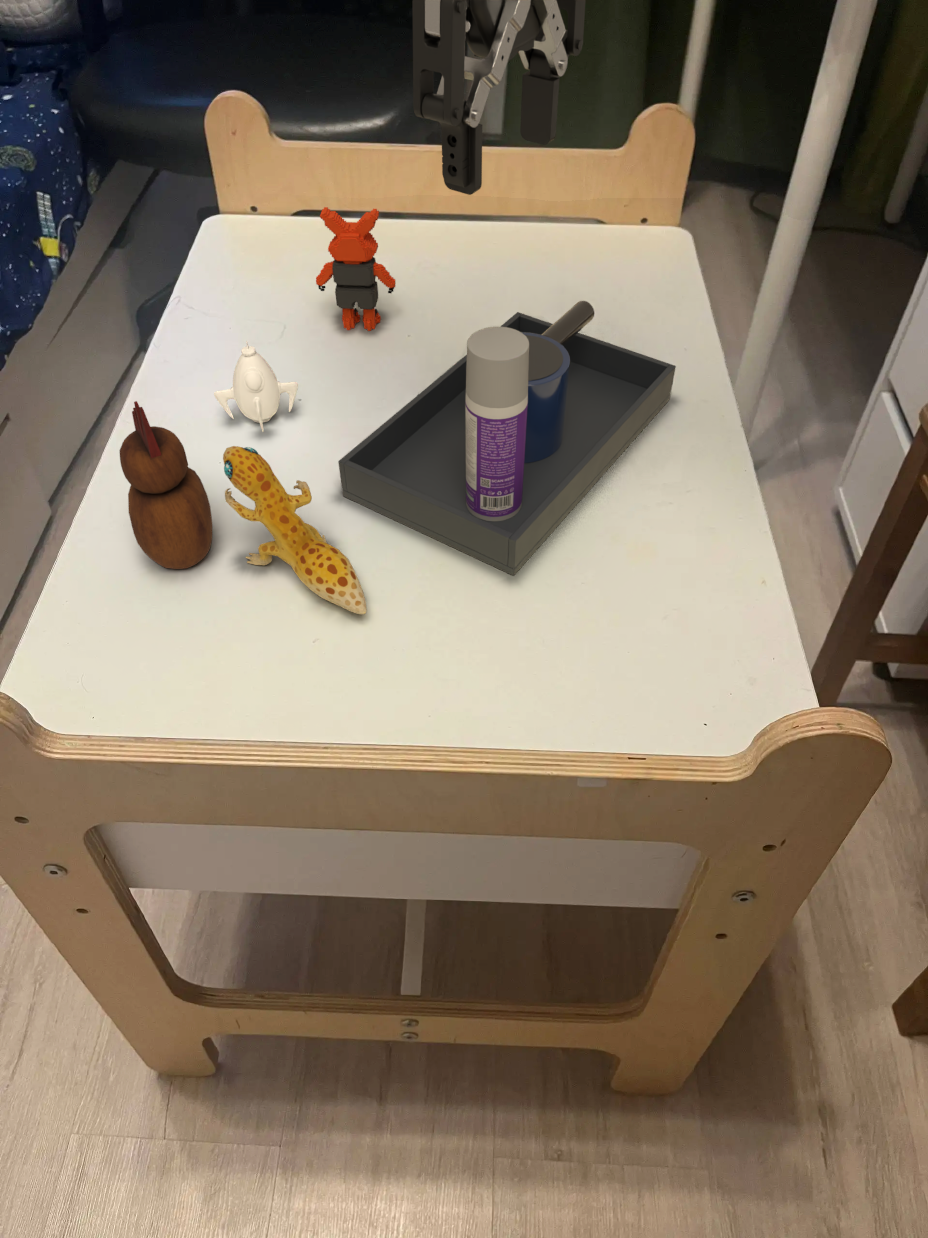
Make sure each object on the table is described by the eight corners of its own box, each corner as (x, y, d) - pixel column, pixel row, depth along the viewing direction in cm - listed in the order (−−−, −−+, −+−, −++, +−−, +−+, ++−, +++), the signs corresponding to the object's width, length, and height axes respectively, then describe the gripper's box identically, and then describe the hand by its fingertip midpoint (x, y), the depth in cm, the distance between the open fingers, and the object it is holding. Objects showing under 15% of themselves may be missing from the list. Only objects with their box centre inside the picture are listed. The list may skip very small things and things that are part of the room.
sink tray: (669, 400, 87) (676, 365, 84) (513, 576, 72) (515, 541, 69) (516, 345, 93) (517, 311, 91) (342, 496, 78) (337, 461, 75)
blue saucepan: (542, 364, 90) (547, 287, 84) (614, 390, 87) (625, 312, 81) (456, 443, 81) (455, 364, 75) (533, 475, 79) (539, 395, 72)
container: (532, 496, 77) (543, 337, 65) (503, 529, 74) (509, 368, 63) (484, 477, 78) (487, 318, 67) (455, 508, 76) (452, 348, 64)
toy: (268, 473, 75) (257, 410, 66) (401, 600, 73) (409, 554, 64) (207, 524, 73) (187, 467, 64) (342, 655, 71) (341, 616, 62)
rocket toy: (264, 442, 83) (248, 366, 77) (220, 422, 85) (201, 346, 79) (303, 411, 86) (290, 336, 80) (259, 393, 88) (244, 318, 82)
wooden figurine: (219, 577, 72) (173, 418, 60) (144, 585, 71) (83, 427, 60) (220, 519, 76) (177, 362, 65) (149, 527, 75) (94, 369, 64)
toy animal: (402, 306, 99) (395, 193, 90) (396, 333, 95) (388, 219, 86) (329, 303, 99) (315, 191, 90) (320, 330, 95) (305, 216, 86)
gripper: (521, -212, 49) (510, 114, 61) (356, -173, 41) (381, 192, 53) (648, -200, 46) (610, 139, 58) (496, -157, 38) (489, 224, 50)
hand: (501, 164), depth 56 cm, fingers open, 8 cm apart
